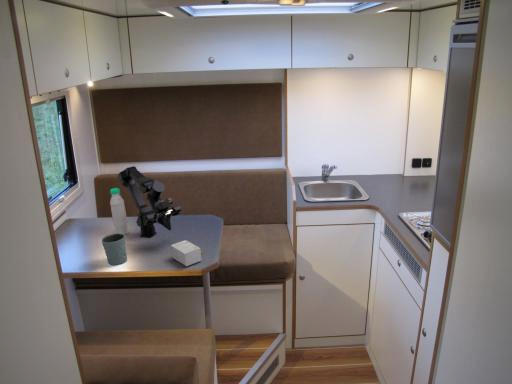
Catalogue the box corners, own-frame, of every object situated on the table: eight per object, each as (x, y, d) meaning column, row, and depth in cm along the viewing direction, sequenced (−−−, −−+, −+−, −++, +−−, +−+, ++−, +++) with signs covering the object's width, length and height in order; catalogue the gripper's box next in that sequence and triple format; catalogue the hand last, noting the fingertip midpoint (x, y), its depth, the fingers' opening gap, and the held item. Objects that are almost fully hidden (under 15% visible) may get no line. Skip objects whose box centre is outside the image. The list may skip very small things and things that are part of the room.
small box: (172, 257, 199) (186, 266, 189) (170, 244, 197) (184, 253, 188) (187, 252, 204) (201, 260, 194) (185, 239, 202) (200, 247, 192)
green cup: (132, 257, 204) (128, 233, 200) (121, 267, 194) (117, 242, 191) (113, 256, 206) (109, 232, 203) (101, 266, 197) (96, 242, 193)
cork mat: (179, 262, 195) (179, 261, 195) (191, 250, 206) (191, 249, 206) (192, 263, 193) (192, 262, 193) (204, 251, 204) (204, 250, 204)
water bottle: (119, 237, 228) (111, 191, 221) (113, 233, 233) (105, 189, 226) (131, 233, 233) (124, 188, 225) (125, 229, 238) (118, 186, 230)
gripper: (142, 198, 198) (156, 227, 194) (177, 189, 209) (192, 216, 205) (137, 210, 207) (150, 238, 202) (171, 200, 218) (185, 227, 213)
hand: (170, 229), depth 205 cm, fingers closed
